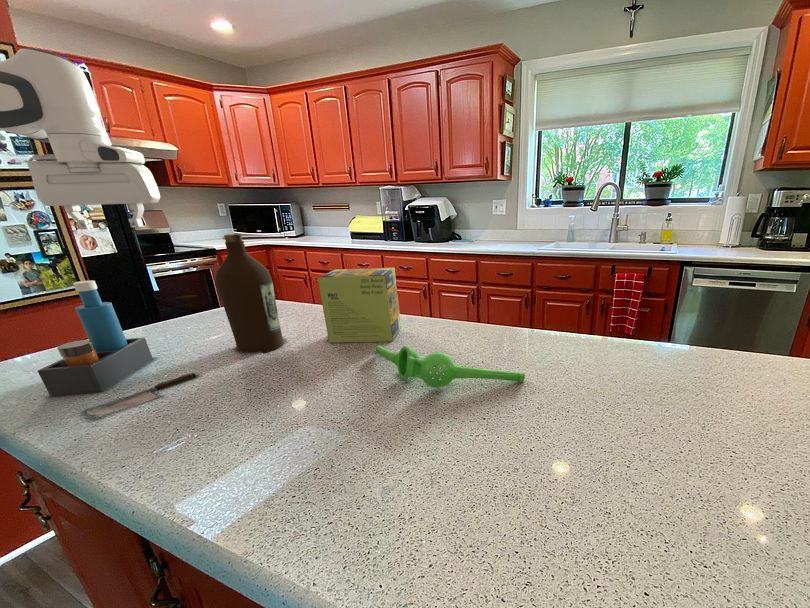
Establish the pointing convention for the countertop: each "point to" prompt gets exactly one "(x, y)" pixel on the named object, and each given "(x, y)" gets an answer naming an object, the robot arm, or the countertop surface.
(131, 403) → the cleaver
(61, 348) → the spice jar
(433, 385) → the lime squeezer
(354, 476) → the countertop surface
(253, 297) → the olive oil
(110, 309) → the water bottle
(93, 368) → the cup holder
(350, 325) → the protein box
